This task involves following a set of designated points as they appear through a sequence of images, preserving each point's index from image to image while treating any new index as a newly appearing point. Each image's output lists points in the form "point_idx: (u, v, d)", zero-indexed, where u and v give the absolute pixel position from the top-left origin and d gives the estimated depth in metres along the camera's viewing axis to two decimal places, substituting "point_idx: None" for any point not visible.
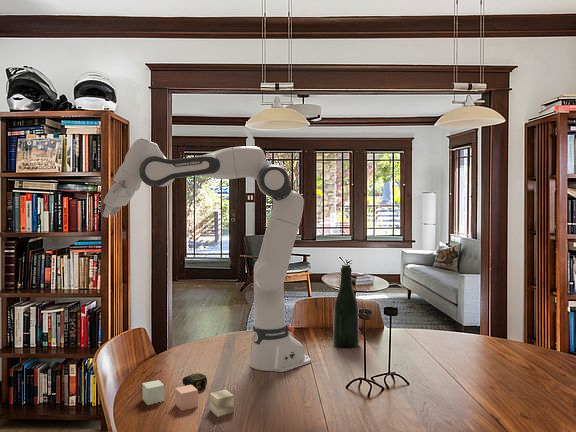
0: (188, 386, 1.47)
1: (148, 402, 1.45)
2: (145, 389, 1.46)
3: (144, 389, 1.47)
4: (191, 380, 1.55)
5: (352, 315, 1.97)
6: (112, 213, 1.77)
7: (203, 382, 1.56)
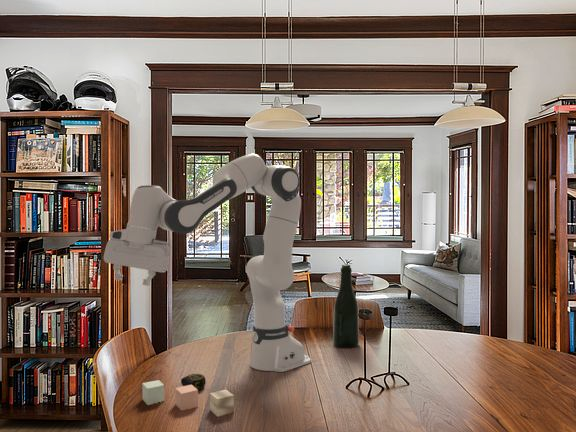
0: (188, 386, 1.47)
1: (148, 402, 1.45)
2: (145, 389, 1.46)
3: (144, 389, 1.47)
4: (190, 380, 1.55)
5: (352, 315, 1.97)
6: (120, 277, 1.50)
7: (202, 382, 1.56)
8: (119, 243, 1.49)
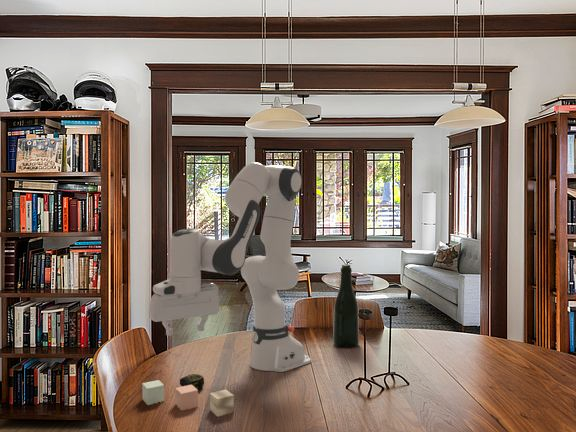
0: (188, 386, 1.47)
1: (148, 402, 1.45)
2: (145, 389, 1.46)
3: (144, 389, 1.47)
4: (188, 381, 1.54)
5: (352, 315, 1.97)
6: None
7: (200, 383, 1.55)
8: (171, 298, 1.38)
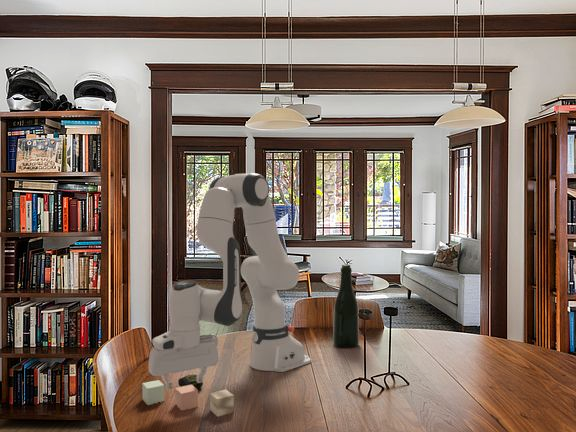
0: (188, 386, 1.47)
1: (148, 402, 1.45)
2: (145, 389, 1.46)
3: (144, 389, 1.47)
4: (187, 381, 1.54)
5: (352, 315, 1.97)
6: None
7: (199, 383, 1.55)
8: (171, 352, 1.39)
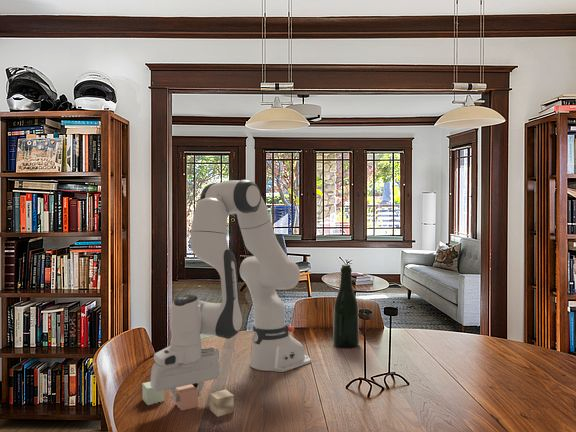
0: (188, 385, 1.47)
1: (148, 402, 1.45)
2: (145, 389, 1.46)
3: (144, 389, 1.47)
4: None
5: (352, 315, 1.97)
6: None
7: (197, 384, 1.55)
8: (172, 367, 1.39)
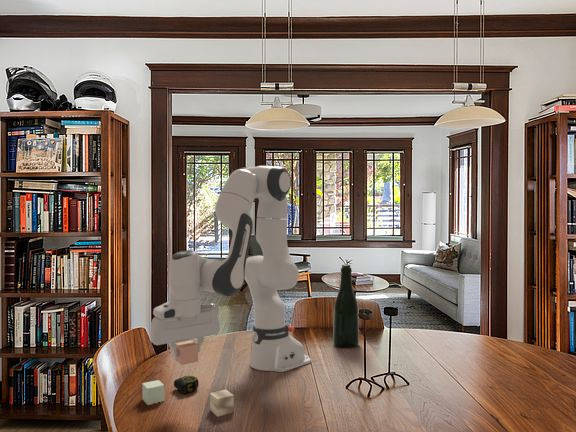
0: (188, 341, 1.46)
1: (148, 402, 1.45)
2: (145, 389, 1.46)
3: (144, 389, 1.47)
4: (182, 383, 1.53)
5: (352, 315, 1.97)
6: None
7: (194, 385, 1.54)
8: (172, 321, 1.39)
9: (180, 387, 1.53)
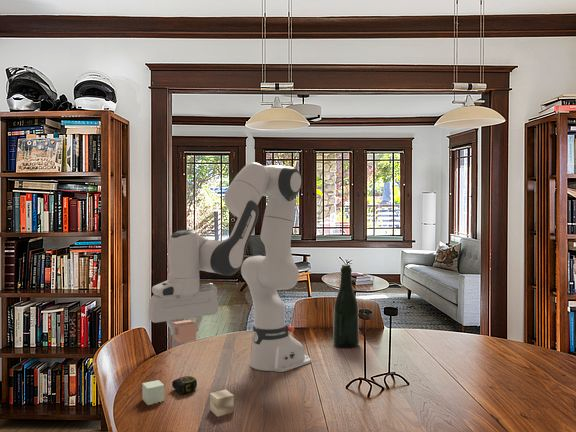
0: (186, 320, 1.47)
1: (148, 402, 1.45)
2: (145, 389, 1.46)
3: (144, 389, 1.47)
4: (180, 383, 1.53)
5: (352, 315, 1.97)
6: None
7: (193, 385, 1.53)
8: (170, 299, 1.39)
9: (178, 387, 1.52)
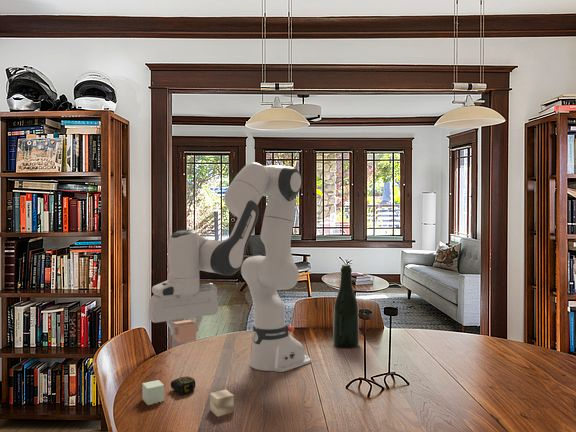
0: (186, 320, 1.47)
1: (148, 402, 1.45)
2: (145, 389, 1.46)
3: (144, 389, 1.47)
4: (179, 383, 1.52)
5: (352, 315, 1.97)
6: None
7: (191, 385, 1.53)
8: (170, 299, 1.39)
9: (177, 388, 1.52)
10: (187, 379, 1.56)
